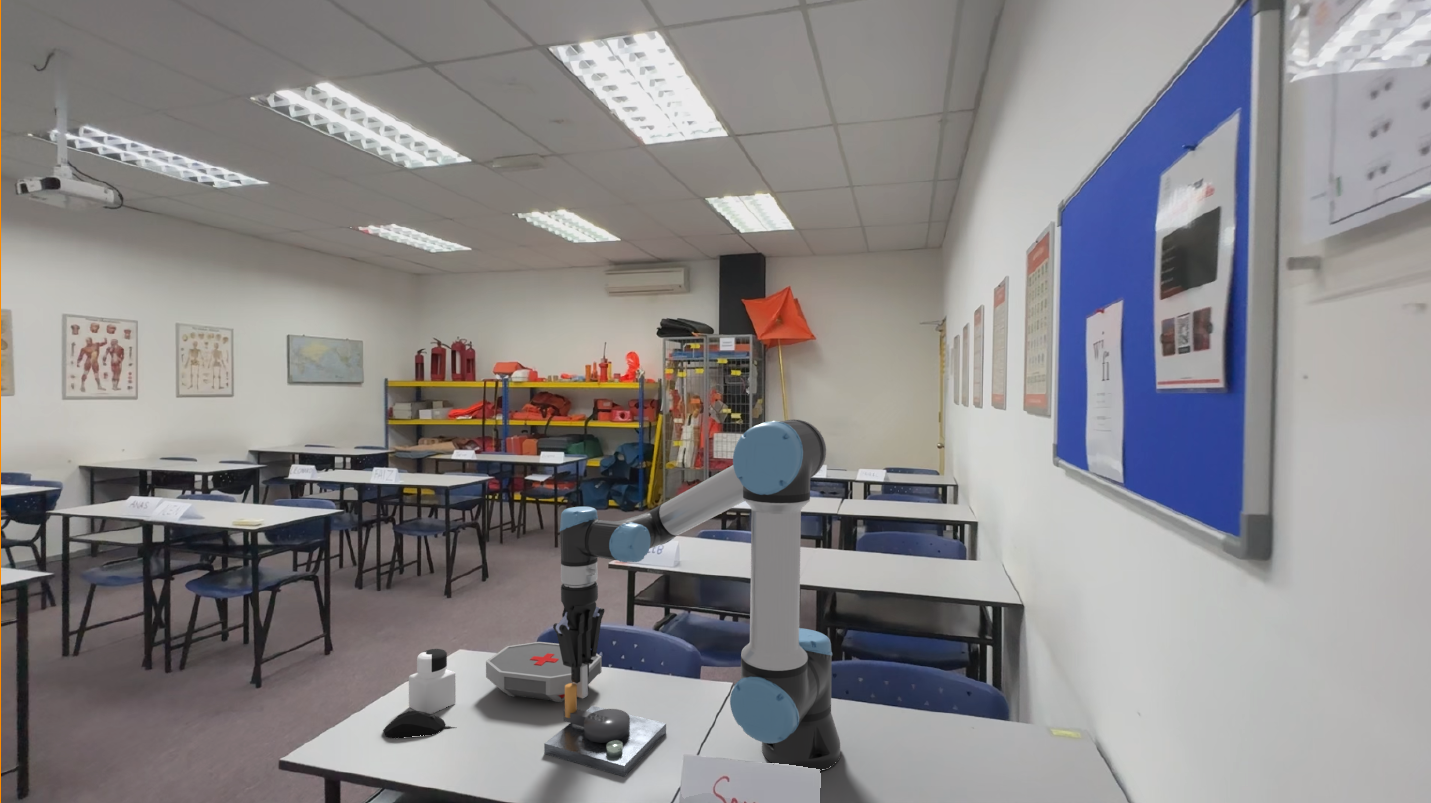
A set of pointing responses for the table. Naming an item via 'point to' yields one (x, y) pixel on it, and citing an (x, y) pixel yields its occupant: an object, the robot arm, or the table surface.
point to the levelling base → (607, 745)
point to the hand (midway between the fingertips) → (580, 695)
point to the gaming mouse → (414, 725)
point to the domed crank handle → (596, 719)
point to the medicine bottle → (432, 683)
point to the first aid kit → (534, 671)
